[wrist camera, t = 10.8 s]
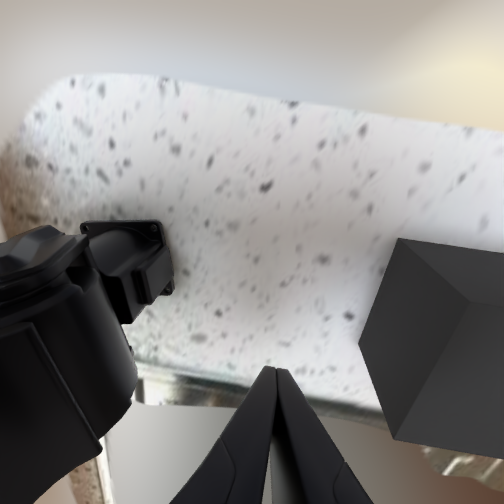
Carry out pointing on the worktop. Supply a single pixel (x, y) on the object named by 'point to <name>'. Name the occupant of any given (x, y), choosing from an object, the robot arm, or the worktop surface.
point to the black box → (440, 347)
